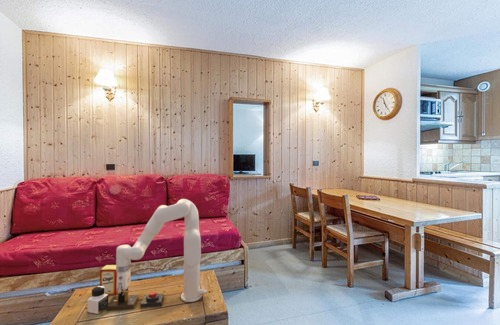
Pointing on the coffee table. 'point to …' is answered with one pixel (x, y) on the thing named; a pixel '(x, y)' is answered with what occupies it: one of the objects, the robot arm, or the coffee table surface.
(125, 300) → the orange block red tip
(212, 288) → the coffee table surface
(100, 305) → the medicine bottle
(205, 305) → the coffee table surface
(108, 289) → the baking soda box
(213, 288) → the coffee table surface
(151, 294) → the door button
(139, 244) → the robot arm
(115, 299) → the plate
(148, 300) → the box
